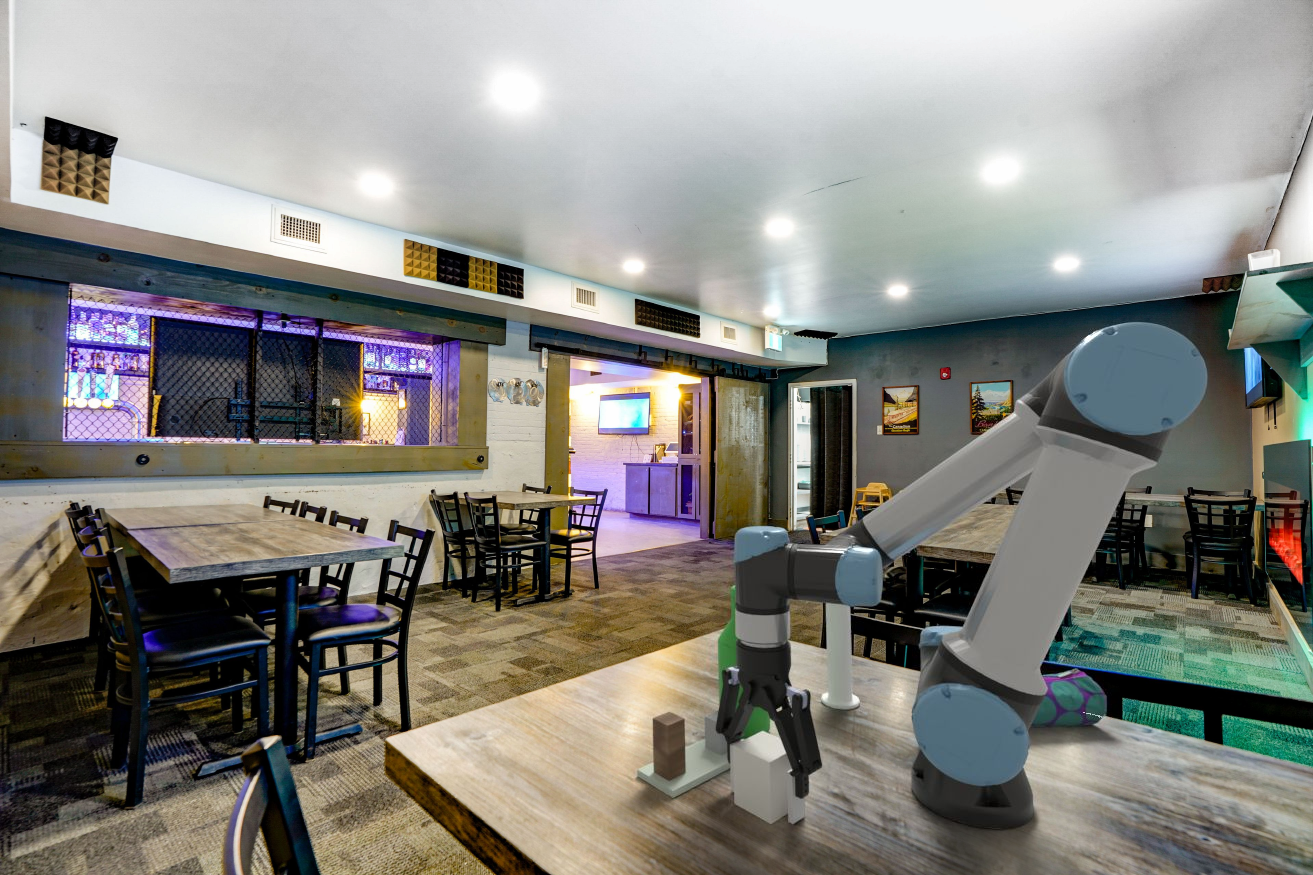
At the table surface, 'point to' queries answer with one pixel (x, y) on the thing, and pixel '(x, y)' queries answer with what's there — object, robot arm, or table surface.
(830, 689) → the candle
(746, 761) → the white square column
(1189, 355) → the robot arm
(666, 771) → the tall post
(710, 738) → the rack
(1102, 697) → the pencil case
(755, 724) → the bottle
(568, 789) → the table surface
